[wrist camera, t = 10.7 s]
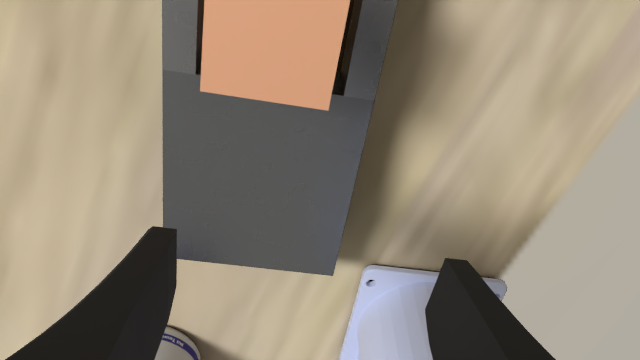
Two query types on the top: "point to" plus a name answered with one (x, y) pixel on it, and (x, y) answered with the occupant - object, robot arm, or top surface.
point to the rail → (264, 152)
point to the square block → (273, 49)
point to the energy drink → (176, 346)
